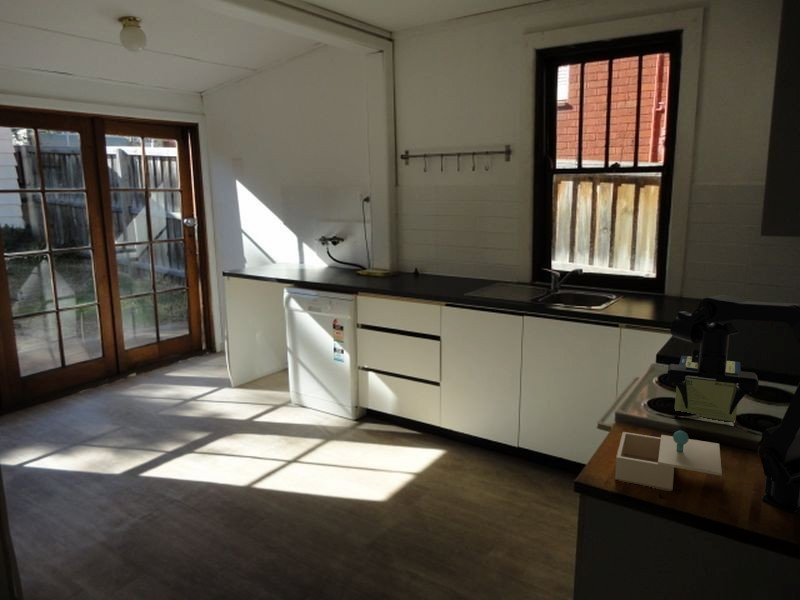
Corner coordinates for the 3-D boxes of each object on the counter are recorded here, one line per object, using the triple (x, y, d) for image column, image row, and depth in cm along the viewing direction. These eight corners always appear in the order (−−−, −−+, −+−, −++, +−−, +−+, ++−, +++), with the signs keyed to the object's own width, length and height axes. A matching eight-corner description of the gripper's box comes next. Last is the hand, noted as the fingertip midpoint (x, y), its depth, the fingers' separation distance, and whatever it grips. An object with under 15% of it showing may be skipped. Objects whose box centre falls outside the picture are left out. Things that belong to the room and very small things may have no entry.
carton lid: (718, 446, 137) (721, 424, 135) (721, 475, 124) (723, 451, 123) (661, 437, 142) (662, 416, 141) (657, 464, 129) (659, 441, 128)
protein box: (736, 427, 159) (741, 373, 155) (673, 417, 166) (677, 365, 163) (735, 413, 168) (741, 361, 164) (676, 404, 175) (680, 354, 172)
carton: (674, 462, 142) (675, 440, 140) (672, 491, 130) (674, 467, 128) (621, 453, 147) (622, 431, 146) (615, 480, 135) (616, 457, 133)
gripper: (757, 342, 139) (750, 404, 142) (670, 335, 147) (666, 393, 150) (761, 357, 129) (754, 422, 133) (669, 348, 137) (664, 410, 141)
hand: (708, 410), depth 139 cm, fingers open, 9 cm apart
